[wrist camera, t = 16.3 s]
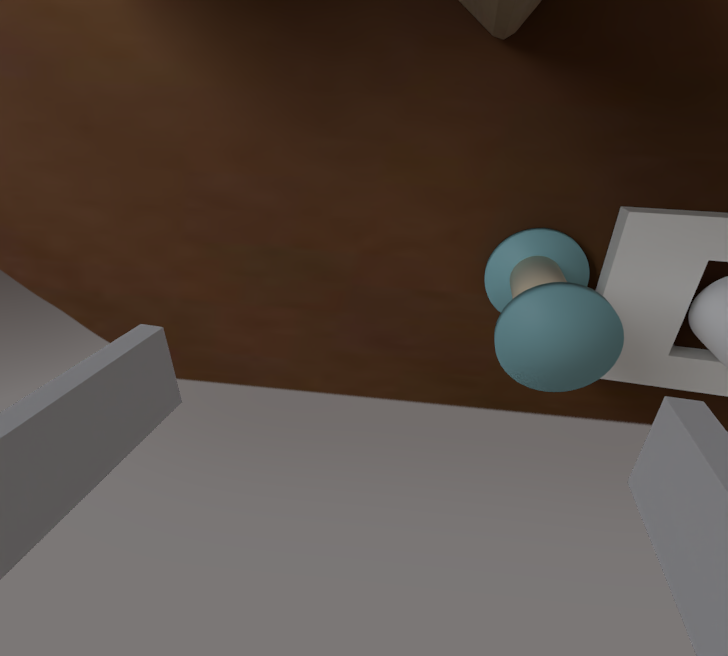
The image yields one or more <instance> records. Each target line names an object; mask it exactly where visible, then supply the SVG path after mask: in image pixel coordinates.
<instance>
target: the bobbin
mask: <svg viewBox="0 0 728 656" xmlns="http://www.w3.org/2000/svg"><path fill="white" fill-rule="evenodd" d="M588 281H589V264H588V261H587V258H586V256H585V254H584V252H583V251H582V249H581V248H580V246H579V245H578V244H577V243H576V242H575V241H574V240H573V239H572V238H571V237H569V236H568V235H566V234H564V233H562V232H560V231H557V230H554V229H549V228H531V229H527V230H523V231H520V232H517V233H515V234H513V235H511V236H509V237H508V238H506V239H505V240H504V241H502V242H501V243H500V244H499V245H498V246H497V247H496V248H495V250H494V251H493V252H492V254H491V256H490V258H489V260H488V262H487V265H486V269H485V288H486V292H487V295H488V298H489V299H490V301H491V303H492V304H493V305H494V307H495V308H496V309H497V310H498V311H499V312H501V314H500V315H499V318H498V320H497V323H496V326H495V333H494V338H495V350H496V355H497V358H498V360H499V362H500V364H501V366H502V367H503V369H504V370H505V371H506V373H507V374H509V375H510V376H511V377H512V378H513V379H514V380H516V381H517V382H519V383H521V384H522V385H525V386H527V387H529V388H532V389H536V390H540V391H547V392H564V391H570V390H575V389H579V388H582V387H585V386H587V385H589V384H591V383H593V382H595V381H597V380H598V379H600V378H601V377H602V376H604V375H605V374H606V373H607V372H608V371H609V370H610V369H611V368H612V367H613V366H614V364H615V363H616V361H617V360H618V358H619V356H620V354H621V351H622V348H623V343H624V330H623V326H622V323H621V320H620V318H619V316H618V315H617V313H616V312H615V310H614V309H613V307H612V306H611V304H610V303H609V302H608V301H607V300H606V299H605V298H604V297H603V296H602V295H601V294H599V293H598V292H596V291H595V290H593V289H591V288H589V287H587V285H588Z"/></svg>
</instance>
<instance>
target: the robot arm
mask: <svg viewBox="0 0 728 656" xmlns="http://www.w3.org/2000/svg"><path fill="white" fill-rule="evenodd" d="M181 402H182V400H181V396H180V393H179V388H178V384H177V380H176V377H175V373H174V369H173V365H172V361H171V357H170V353H169V349H168V345H167V341H166V337H165V333H164V329H163V327H158V326H151V325H143V324H140V325H139V326H137V327H135V328H134V329H132V330H131V331H129V332H127V333H126V334H124V335H123V336H121V337H120V338H118V339H116V340H115V341H113V342H112V343H110V344H108V345H107V346H105V347H104V348H102V349H101V350H99V351H97V352H96V353H94V354H93V355H91V356H89V357H88V358H86V359H85V360H83V361H81V362H80V363H78V364H77V365H75V366H73V367H72V368H70V369H69V370H67V371H66V372H64V373H63V374H61V375H59V376H58V377H56V378H54V379H53V380H51V381H50V382H48V383H46V384H45V385H43V386H42V387H40V388H38V389H37V390H36V391H34V392H32V393H31V394H29V395H27V396H26V397H24V398H23V399H21V400H19V401H18V402H16V403H15V404H13V405H12V406H10V407H8V408H7V409H5V410H4V411H2V412H0V579H1V578H2V577H3V576H5V575H6V573H8V572H9V571H10V570H11V569H12V568H13V567H14V566H15V565H16V564H17V563H18V562H19V561H20V560H21V559H22V558H23V557H24V556H25V555H26V554H27V553H28V552H29V551H30V550H31V549H32V548H33V547H34V546H35V545H36V544H37V543H38V542H39V541H40V540H41V539H42V538H43V537H44V536H45V535H46V534H47V533H48V532H50V530H51V529H53V528H54V527H55V526H56V525H57V524H58V523H59V522H60V521H61V520H62V519H63V518H64V517H65V516H66V515H67V514H68V513H69V512H70V511H71V510H72V509H73V508H74V507H75V506H76V505H77V504H78V503H79V502H80V501H81V500H82V499H83V498H84V497H85V496H86V495H87V494H88V493H89V492H90V491H91V490H92V489H93V488H94V487H96V486H97V485H98V484H99V482H101V481H102V480H103V479H104V478H105V477H106V476H107V475H108V474H109V473H110V472H111V471H112V470H113V469H114V468H115V467H116V466H117V465H118V464H119V463H120V462H121V461H122V460H123V459H124V458H125V457H126V456H127V455H128V454H129V453H130V452H131V451H132V450H133V449H134V448H135V447H136V446H137V445H138V444H140V442H142V441H143V440H144V439H145V438H146V437H147V436H148V435H149V434H150V433H151V432H152V431H153V430H154V429H155V428H156V427H157V426H158V425H159V424H160V423H161V422H162V421H163V420H164V419H165V418H166V417H167V416H168V415H169V414H170V413H171V412H172V411H173V410H174V409H175V408H176V407H177V406H178V405H179V404H180V403H181ZM628 485H629V488H630V490H631V493H632V495H633V498H634V500H635V502H636V505H637V507H638V510H639V513H640V515H641V518H642V520H643V523H644V525H645V528H646V530H647V532H648V535H649V537H650V540H651V543H652V545H653V548H654V550H655V552H656V555H657V558H658V560H659V563H660V565H661V568H662V570H663V573H664V575H665V578H666V580H667V583H668V585H669V588H670V590H671V593H672V595H673V598H674V600H675V603H676V605H677V608H678V610H679V613H680V615H681V618H682V620H683V623H684V625H685V628H686V630H687V633H688V636H689V638H690V641H691V643H692V646H693V648H694V650H695V653H696V656H728V433H727V431H726V430H725V429H724V427H723V426H722V425H721V424H720V422H719V421H718V420H717V418H716V417H715V416H714V414H713V413H712V412H711V411H710V409H709V408H708V407H707V405H706V404H705V403H704V402H703V401H696V400H689V399H682V398H674V397H667V396H665V397H664V399H663V402H662V404H661V406H660V408H659V411H658V413H657V415H656V418H655V420H654V422H653V424H652V427H651V429H650V431H649V434H648V436H647V438H646V440H645V443H644V445H643V447H642V450H641V452H640V454H639V456H638V459H637V461H636V463H635V466H634V468H633V470H632V472H631V475H630V477H629V479H628Z"/></svg>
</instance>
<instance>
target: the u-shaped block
mask: <svg viewBox="0 0 728 656" xmlns="http://www.w3.org/2000/svg"><path fill="white" fill-rule="evenodd" d="M709 260H711V261H724V262H728V213H724V212H707V211H690V210H673V209H657V208H640V207H623V206H621V207H620V211H619V214H618V217H617V221H616V224H615V227H614V231H613V234H612V237H611V241H610V244H609V247H608V251H607V254H606V257H605V261H604V264H603V267H602V270H601V274H600V277H599V280H598V284H597V287H596V290H595V291H596V292H598V293H599V294H601V295H602V296H603V297H604V298H605V299H606V300H607V301H608V302H609V303H610V304H611V306H612V307H613V309H614V310H615V312H616V313H617V315H618V316H619V318H620V320H621V323H622V326H623V330H624V343H623V348H622V351H621V354H620V356H619V358H618V360H617V361H616V363H615V364H614V366H613V367H612V368H611V369H610V370H609V371H608V372H607V373H606V374H605V375H604V376H602V377H601V378H600V379H606V380H614V381H621V382H628V383H635V384H642V385H649V386H656V387H663V388H671V389H678V390H685V391H692V392H699V393H706V394H713V395H720V396H728V369H727V368H726V367H725V366H724V365H723V364H722V363H721V362H720V361H719V360H718V359H717V357H716V356H715V355H714V354H713V353H712V352H711V351H710V350H705V349H697V348H689V347H681V346H672V345H673V343H674V341H675V338H676V336H677V334H678V331H679V329H680V327H681V324H682V322H683V320H684V317H685V315H686V312H687V310H688V308H689V305H690V303H691V301H692V298H693V296H694V294H695V291H696V289H697V287H698V284H699V282H700V279H701V277H702V275H703V272H704V270H705V268H706V265H707V263H708V261H709Z"/></svg>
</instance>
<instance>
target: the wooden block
mask: <svg viewBox="0 0 728 656" xmlns="http://www.w3.org/2000/svg"><path fill="white" fill-rule="evenodd" d="M459 1H460V2H461V3H462V5H463V6H464V7H465V8H466V9H467V10H468V11H469V12H470V13H471V14H472V15H473V16H474V17H475V18H476V19H477V20H478V21H479V22H480V23H481V24H482V25H483V26H484V27H485V28H486V30H487V31H488V32H489V33H490V34H491V35H492V36H494V37H497V38H500V39H503V40H504V39H506V38H507V37H509V36H511V35H512V34H514V33H515V32H516V31H517V30H518V29H519V28H520V26H521V25H522V24H523V23H524V21H525V20H526V19H527V18H528V17H529V15H530V14H531V13H532V12H533V11H534V9H535V8H536V7H537V6H538V4H539V3H540V2H541V1H542V0H459Z"/></svg>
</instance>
